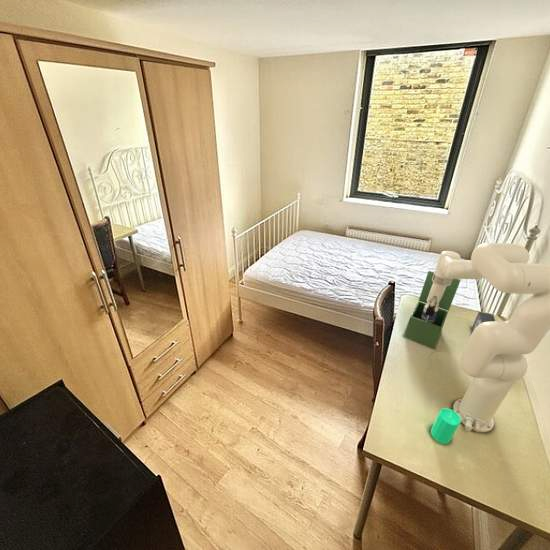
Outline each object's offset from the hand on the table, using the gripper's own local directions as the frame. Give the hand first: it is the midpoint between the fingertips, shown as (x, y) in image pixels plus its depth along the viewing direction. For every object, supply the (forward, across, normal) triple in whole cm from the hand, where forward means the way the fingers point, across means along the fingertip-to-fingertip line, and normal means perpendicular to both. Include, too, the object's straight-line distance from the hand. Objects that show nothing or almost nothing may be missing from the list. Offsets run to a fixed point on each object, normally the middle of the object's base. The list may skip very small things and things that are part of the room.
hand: (430, 311), depth 136 cm
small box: (+14, -16, +23) cm, 32 cm away
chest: (+14, 0, 0) cm, 14 cm away
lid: (-7, -9, 0) cm, 11 cm away
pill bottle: (+5, 0, 0) cm, 5 cm away
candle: (+14, +50, +17) cm, 55 cm away
